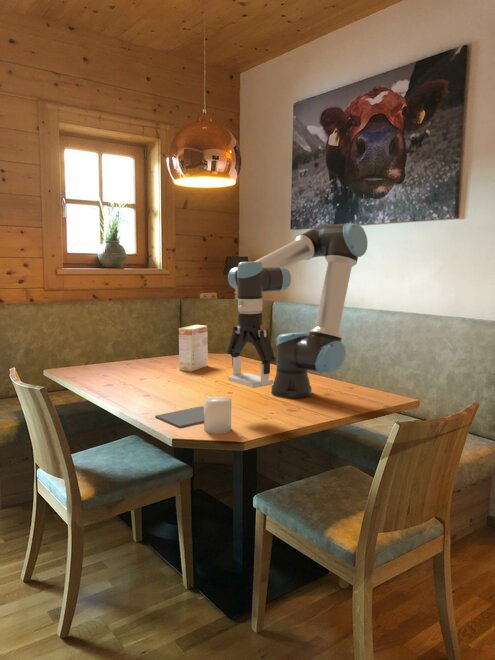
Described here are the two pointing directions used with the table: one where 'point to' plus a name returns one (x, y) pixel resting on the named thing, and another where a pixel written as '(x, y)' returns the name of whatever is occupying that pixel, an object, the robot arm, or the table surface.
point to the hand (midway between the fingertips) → (250, 380)
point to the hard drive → (248, 380)
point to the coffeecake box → (193, 347)
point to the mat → (184, 417)
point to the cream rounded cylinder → (217, 414)
